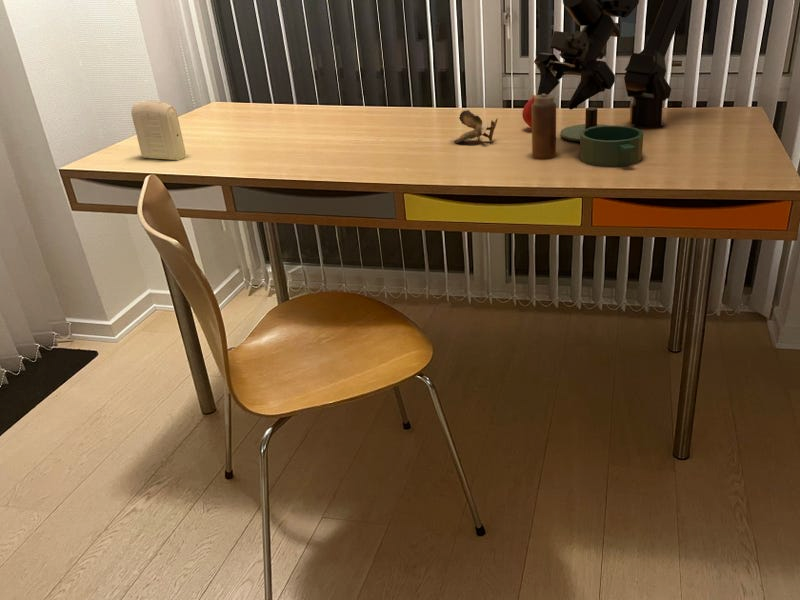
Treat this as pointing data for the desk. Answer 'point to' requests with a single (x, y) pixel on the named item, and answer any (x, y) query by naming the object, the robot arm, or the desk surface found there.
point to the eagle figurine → (475, 127)
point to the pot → (611, 145)
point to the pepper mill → (543, 127)
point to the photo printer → (158, 130)
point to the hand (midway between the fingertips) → (553, 104)
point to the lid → (575, 130)
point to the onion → (528, 111)
